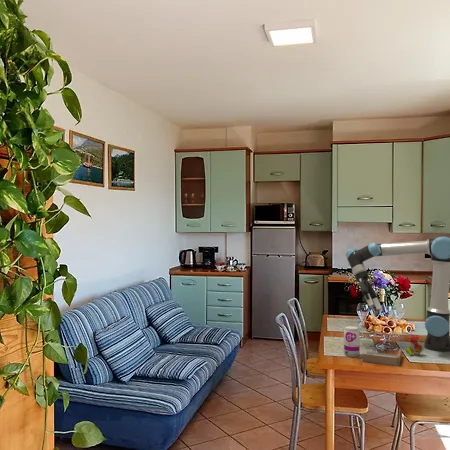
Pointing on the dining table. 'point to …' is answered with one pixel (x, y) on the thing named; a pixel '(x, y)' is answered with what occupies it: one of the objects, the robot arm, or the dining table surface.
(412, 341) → the bird rattle
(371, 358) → the corner arena
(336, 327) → the dining table surface
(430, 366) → the dining table surface
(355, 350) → the supplement can
